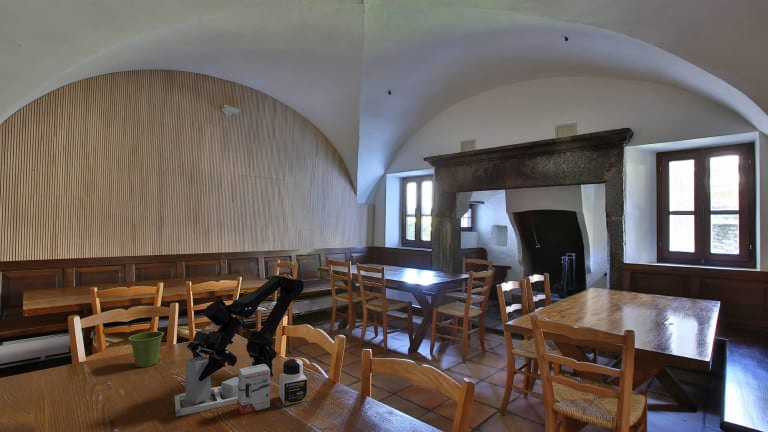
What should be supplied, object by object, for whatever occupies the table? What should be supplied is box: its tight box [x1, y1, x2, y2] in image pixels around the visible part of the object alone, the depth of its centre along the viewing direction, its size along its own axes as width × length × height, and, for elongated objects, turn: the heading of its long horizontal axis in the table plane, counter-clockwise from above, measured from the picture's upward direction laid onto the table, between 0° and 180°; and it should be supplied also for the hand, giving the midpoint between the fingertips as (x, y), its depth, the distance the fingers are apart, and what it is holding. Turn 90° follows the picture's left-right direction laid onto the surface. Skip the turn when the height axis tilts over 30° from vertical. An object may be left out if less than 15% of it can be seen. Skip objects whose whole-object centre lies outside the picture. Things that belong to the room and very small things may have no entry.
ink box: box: [237, 364, 271, 415], centre depth 119 cm, size 8×5×12 cm, turn 123°
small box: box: [220, 376, 238, 399], centre depth 127 cm, size 6×6×5 cm
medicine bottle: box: [278, 358, 308, 406], centre depth 125 cm, size 7×7×12 cm
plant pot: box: [128, 330, 165, 368], centre depth 153 cm, size 12×12×11 cm
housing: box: [174, 386, 238, 418], centre depth 124 cm, size 22×12×2 cm, turn 120°
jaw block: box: [185, 356, 212, 404], centre depth 121 cm, size 5×5×12 cm
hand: (194, 378), depth 120 cm, fingers closed on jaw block, 5 cm apart
